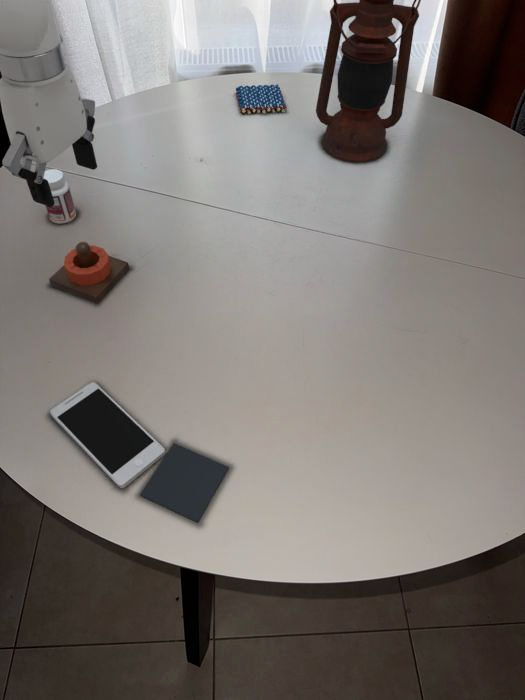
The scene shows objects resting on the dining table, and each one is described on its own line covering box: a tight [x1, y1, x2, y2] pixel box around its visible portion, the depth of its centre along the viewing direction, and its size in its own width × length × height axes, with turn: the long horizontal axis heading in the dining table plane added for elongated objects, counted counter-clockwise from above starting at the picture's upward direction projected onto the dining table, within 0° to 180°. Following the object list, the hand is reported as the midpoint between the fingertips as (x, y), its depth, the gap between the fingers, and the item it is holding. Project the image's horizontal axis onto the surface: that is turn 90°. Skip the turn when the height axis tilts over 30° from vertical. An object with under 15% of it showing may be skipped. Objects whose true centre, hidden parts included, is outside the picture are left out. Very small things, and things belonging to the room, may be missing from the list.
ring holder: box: [48, 241, 131, 305], centre depth 92 cm, size 9×9×7 cm
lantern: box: [315, 0, 422, 164], centre depth 111 cm, size 17×14×30 cm
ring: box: [63, 244, 111, 285], centre depth 92 cm, size 7×7×2 cm
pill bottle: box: [43, 168, 77, 225], centre depth 101 cm, size 5×5×8 cm
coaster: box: [139, 442, 230, 523], centre depth 71 cm, size 8×8×1 cm
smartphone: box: [49, 381, 166, 489], centre depth 75 cm, size 7×16×1 cm, turn 46°
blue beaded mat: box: [235, 83, 287, 115], centre depth 132 cm, size 10×11×2 cm
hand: (66, 184), depth 81 cm, fingers open, 9 cm apart
